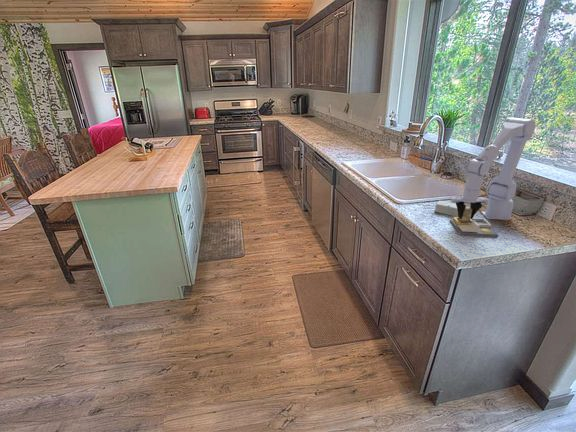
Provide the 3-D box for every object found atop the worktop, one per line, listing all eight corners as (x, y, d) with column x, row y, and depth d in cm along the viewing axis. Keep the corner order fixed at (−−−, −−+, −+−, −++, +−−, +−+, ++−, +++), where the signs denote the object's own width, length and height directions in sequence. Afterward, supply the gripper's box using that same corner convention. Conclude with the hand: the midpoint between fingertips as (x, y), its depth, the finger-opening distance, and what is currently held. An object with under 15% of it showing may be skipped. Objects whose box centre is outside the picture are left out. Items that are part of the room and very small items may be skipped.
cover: (473, 226, 129) (474, 220, 127) (477, 232, 124) (479, 225, 123) (457, 226, 130) (459, 219, 128) (462, 231, 125) (463, 224, 124)
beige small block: (466, 219, 135) (469, 206, 132) (471, 223, 131) (474, 210, 128) (457, 219, 135) (460, 206, 132) (461, 223, 131) (464, 210, 129)
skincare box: (439, 200, 150) (466, 205, 143) (437, 208, 152) (464, 213, 145) (435, 203, 146) (464, 209, 139) (434, 212, 148) (462, 218, 141)
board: (483, 223, 135) (484, 218, 134) (497, 237, 123) (498, 231, 122) (449, 221, 137) (450, 216, 136) (460, 235, 125) (461, 230, 124)
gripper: (485, 185, 130) (477, 214, 135) (450, 185, 131) (444, 214, 136) (494, 191, 123) (486, 221, 129) (457, 190, 124) (450, 220, 130)
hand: (465, 217), depth 132 cm, fingers closed on beige small block, 4 cm apart
